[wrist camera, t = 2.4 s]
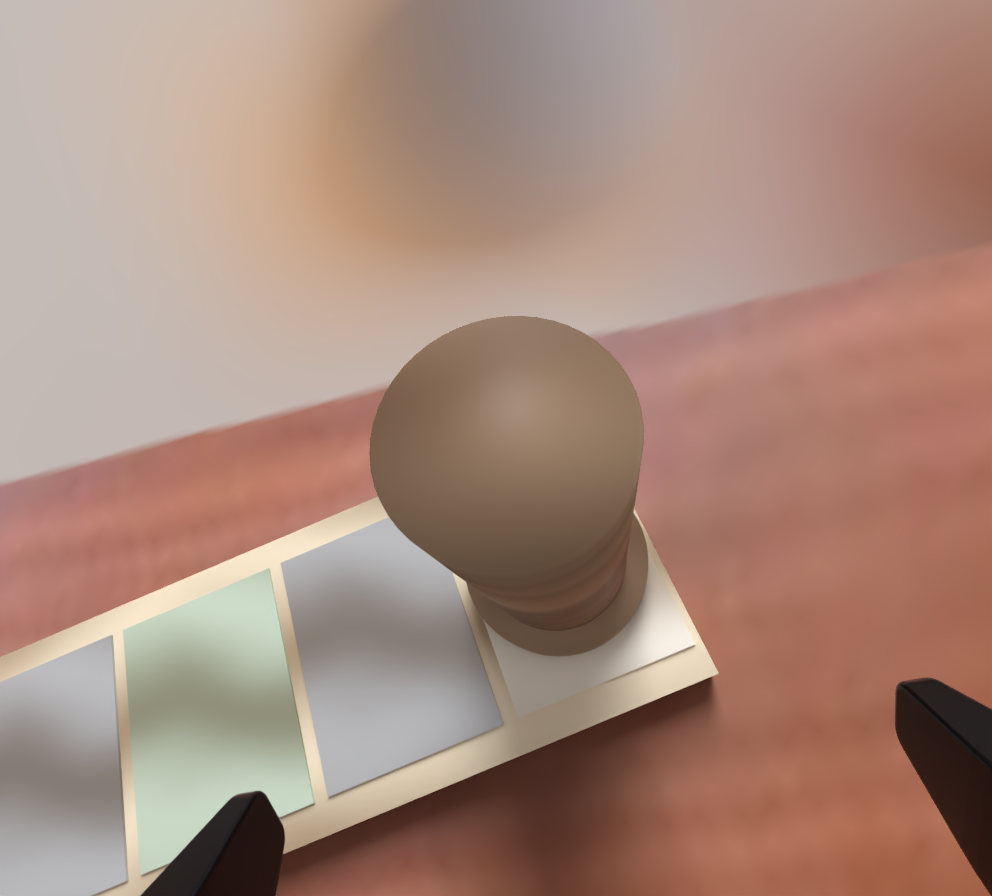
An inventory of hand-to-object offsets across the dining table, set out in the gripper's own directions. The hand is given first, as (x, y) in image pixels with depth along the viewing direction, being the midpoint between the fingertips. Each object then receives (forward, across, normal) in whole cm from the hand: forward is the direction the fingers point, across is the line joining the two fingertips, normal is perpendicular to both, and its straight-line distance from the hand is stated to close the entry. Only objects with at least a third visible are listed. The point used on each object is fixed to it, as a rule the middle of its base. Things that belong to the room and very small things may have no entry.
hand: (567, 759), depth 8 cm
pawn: (+11, 0, +4) cm, 11 cm away
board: (+10, +10, +6) cm, 15 cm away
